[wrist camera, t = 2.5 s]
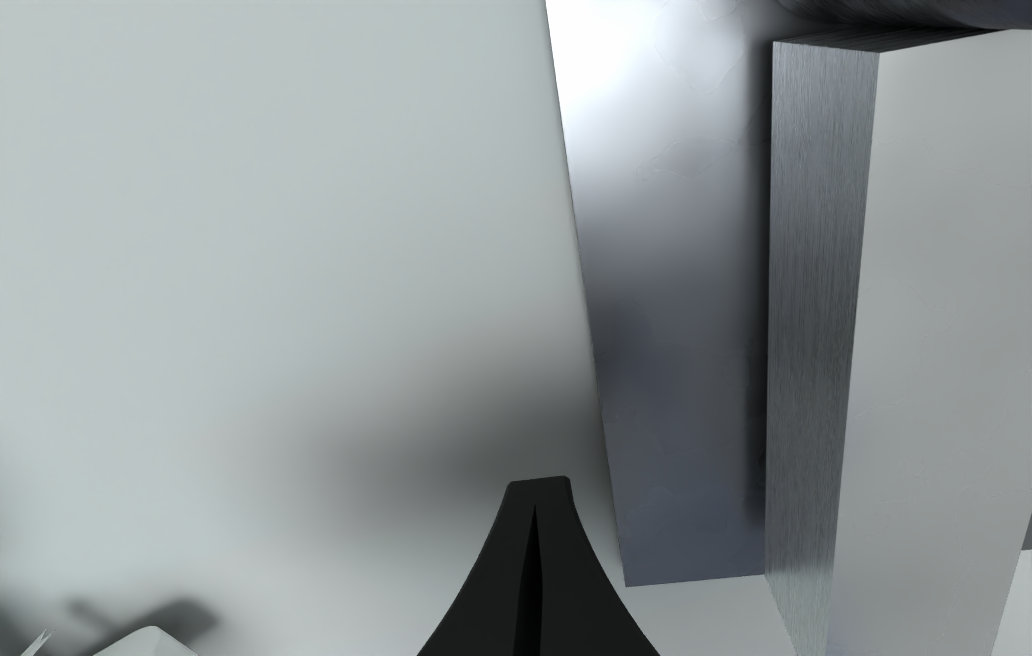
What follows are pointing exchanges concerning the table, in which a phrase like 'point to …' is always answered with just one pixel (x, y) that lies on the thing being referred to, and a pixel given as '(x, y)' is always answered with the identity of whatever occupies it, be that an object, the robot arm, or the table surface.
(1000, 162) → the bar
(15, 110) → the table surface
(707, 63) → the lid
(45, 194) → the table surface
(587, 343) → the table surface
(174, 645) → the cable organizer
